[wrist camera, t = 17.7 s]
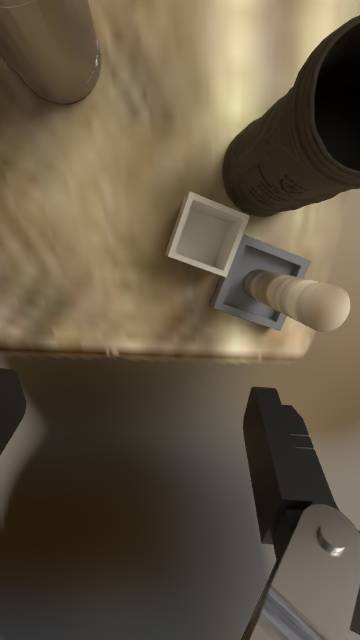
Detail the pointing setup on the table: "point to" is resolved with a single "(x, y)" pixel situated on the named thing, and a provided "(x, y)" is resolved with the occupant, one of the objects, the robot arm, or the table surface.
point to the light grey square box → (206, 234)
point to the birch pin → (299, 298)
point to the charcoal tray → (246, 260)
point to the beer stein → (303, 135)
